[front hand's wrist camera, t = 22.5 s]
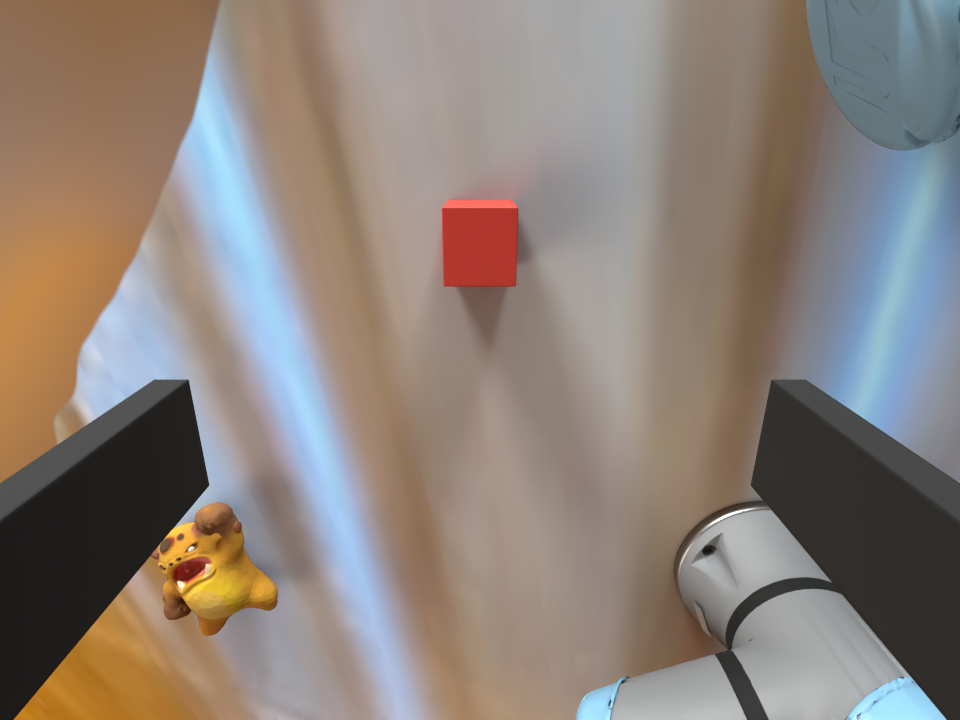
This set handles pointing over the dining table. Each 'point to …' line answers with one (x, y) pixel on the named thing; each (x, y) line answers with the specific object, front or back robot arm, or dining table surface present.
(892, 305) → the dining table surface
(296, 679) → the dining table surface
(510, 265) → the brick
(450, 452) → the dining table surface
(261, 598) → the toy
